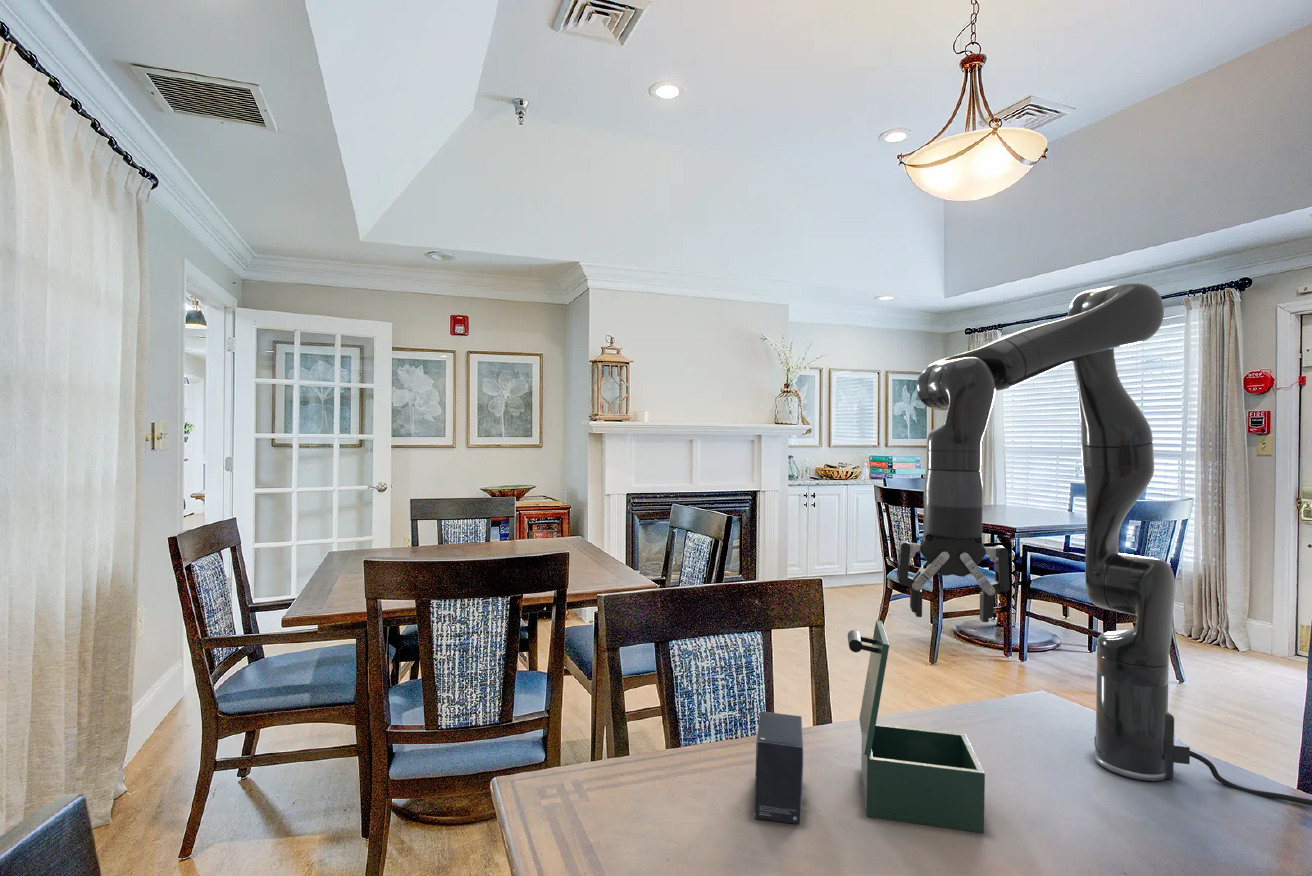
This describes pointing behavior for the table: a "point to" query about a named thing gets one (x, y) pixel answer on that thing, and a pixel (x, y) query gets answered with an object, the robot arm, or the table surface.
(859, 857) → the table surface
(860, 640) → the bin lid
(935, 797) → the waste bin
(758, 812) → the small box
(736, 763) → the table surface
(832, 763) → the table surface
